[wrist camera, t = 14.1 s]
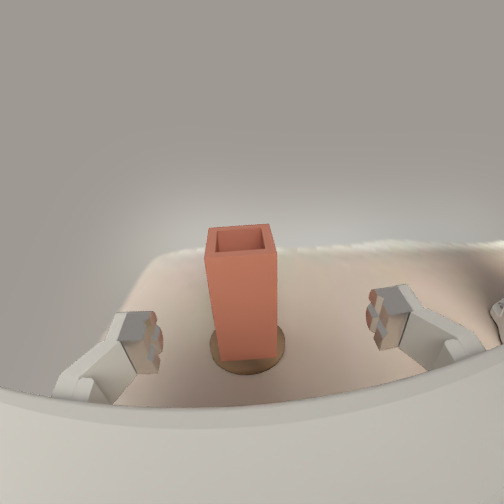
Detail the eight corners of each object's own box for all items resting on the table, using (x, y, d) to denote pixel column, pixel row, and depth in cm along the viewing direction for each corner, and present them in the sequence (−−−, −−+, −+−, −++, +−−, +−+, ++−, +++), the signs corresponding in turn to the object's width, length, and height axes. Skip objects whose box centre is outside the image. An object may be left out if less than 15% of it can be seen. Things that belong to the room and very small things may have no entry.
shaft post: (261, 314, 37) (258, 257, 33) (299, 354, 31) (303, 295, 27) (200, 337, 34) (188, 279, 30) (230, 386, 28) (220, 327, 24)
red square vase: (277, 357, 30) (276, 252, 24) (221, 361, 29) (204, 258, 24) (271, 320, 34) (269, 223, 29) (221, 324, 34) (208, 228, 28)
